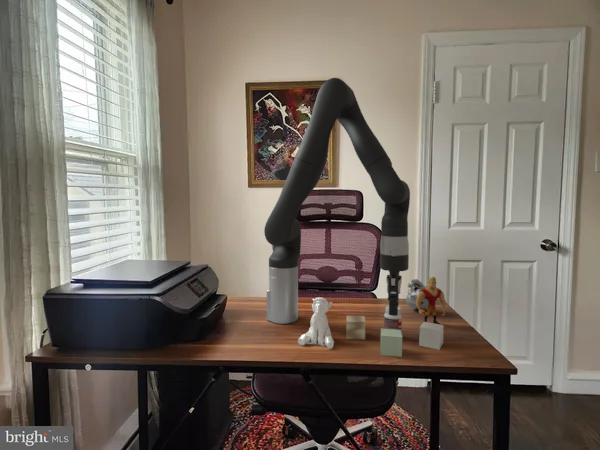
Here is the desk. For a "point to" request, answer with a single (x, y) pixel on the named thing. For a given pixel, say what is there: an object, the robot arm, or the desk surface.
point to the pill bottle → (392, 320)
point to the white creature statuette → (318, 325)
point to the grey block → (431, 335)
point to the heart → (415, 294)
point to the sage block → (391, 342)
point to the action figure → (431, 299)
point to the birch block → (355, 327)
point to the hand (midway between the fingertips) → (393, 310)
